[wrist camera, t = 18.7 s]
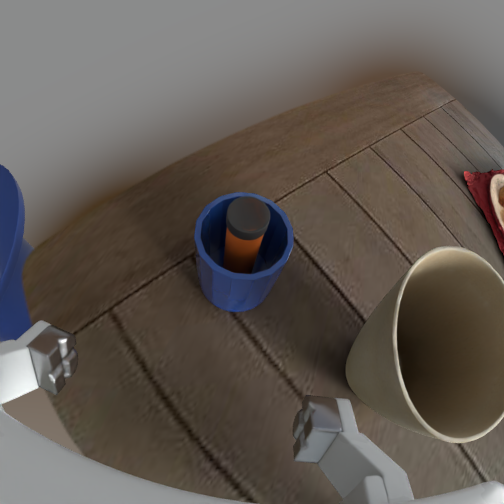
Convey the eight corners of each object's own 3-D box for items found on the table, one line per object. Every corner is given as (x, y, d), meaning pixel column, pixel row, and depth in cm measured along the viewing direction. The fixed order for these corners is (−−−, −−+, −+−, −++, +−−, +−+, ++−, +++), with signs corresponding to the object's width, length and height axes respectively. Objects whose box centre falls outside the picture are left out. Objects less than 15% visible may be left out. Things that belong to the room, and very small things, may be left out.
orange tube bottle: (220, 286, 33) (225, 230, 22) (222, 258, 34) (228, 194, 23) (250, 289, 33) (270, 234, 22) (251, 261, 34) (270, 198, 23)
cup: (195, 309, 32) (189, 275, 23) (202, 241, 35) (200, 188, 26) (271, 314, 33) (294, 282, 24) (271, 246, 36) (291, 197, 27)
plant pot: (430, 411, 29) (532, 401, 15) (320, 444, 27) (405, 475, 13) (412, 299, 35) (499, 243, 21) (305, 311, 33) (371, 246, 19)
